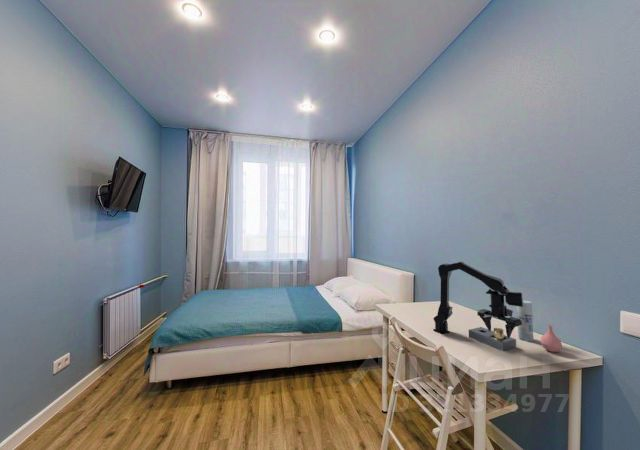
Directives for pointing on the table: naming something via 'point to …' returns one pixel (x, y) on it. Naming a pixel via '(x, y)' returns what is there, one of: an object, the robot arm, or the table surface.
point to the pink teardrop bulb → (551, 341)
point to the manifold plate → (492, 339)
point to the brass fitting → (498, 333)
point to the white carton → (525, 321)
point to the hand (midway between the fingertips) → (498, 334)
